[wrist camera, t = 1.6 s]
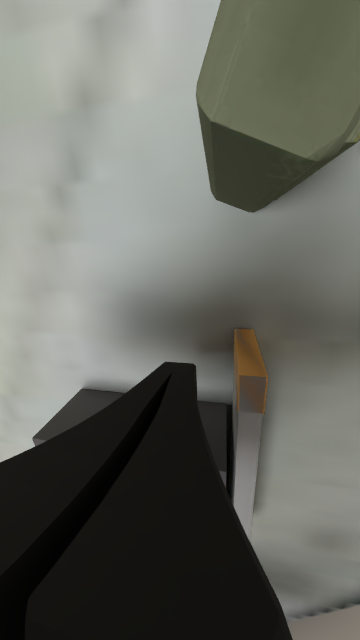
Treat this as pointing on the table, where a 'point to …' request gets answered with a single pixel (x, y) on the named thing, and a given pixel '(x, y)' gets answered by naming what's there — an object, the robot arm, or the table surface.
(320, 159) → the handheld radio
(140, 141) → the table surface
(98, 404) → the camera body
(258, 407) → the side door
